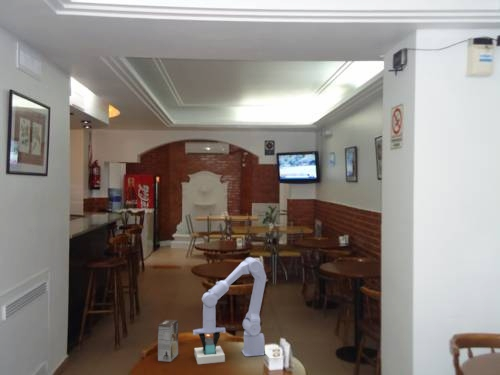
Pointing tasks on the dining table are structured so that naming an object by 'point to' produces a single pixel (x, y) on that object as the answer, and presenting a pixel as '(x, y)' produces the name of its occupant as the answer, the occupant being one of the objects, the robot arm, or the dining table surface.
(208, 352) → the plug
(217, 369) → the dining table surface
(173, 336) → the coffee box
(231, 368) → the dining table surface
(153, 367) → the dining table surface
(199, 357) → the block
